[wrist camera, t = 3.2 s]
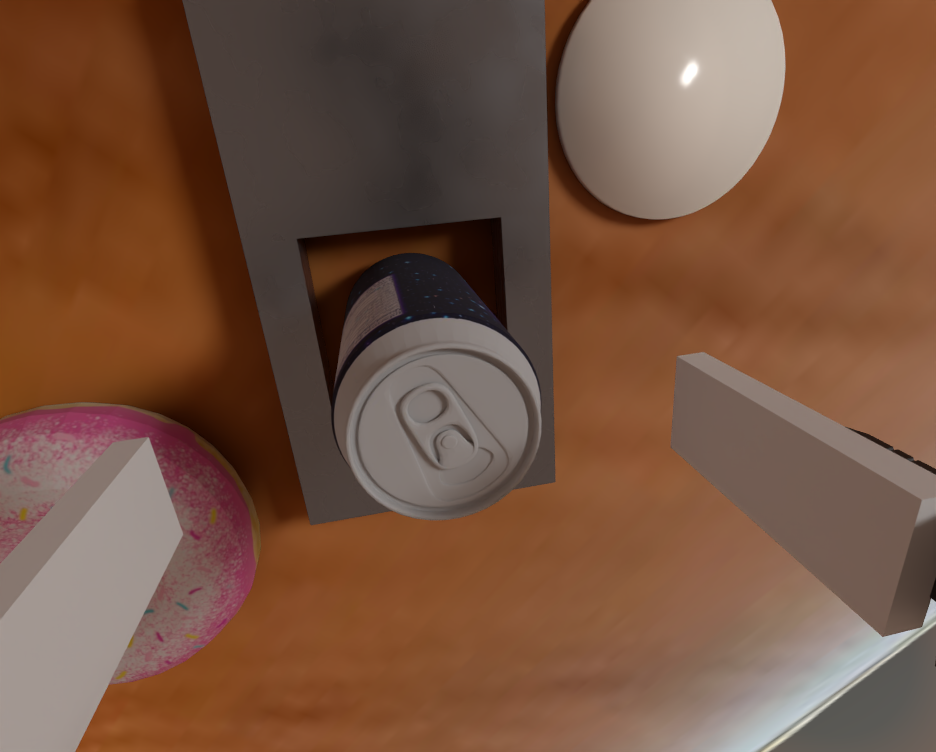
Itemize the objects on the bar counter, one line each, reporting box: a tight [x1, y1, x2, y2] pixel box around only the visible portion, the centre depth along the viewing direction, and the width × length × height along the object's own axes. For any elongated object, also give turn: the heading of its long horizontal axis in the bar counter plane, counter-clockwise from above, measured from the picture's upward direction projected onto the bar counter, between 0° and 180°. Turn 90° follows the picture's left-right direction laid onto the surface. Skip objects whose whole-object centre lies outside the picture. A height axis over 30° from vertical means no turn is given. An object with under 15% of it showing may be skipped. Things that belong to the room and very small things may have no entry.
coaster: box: [555, 0, 785, 219], centre depth 22 cm, size 10×10×1 cm
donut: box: [0, 402, 261, 684], centre depth 23 cm, size 14×13×5 cm
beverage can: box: [331, 253, 542, 520], centre depth 18 cm, size 6×6×12 cm
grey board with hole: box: [182, 0, 555, 525], centre depth 22 cm, size 22×12×2 cm, turn 5°
